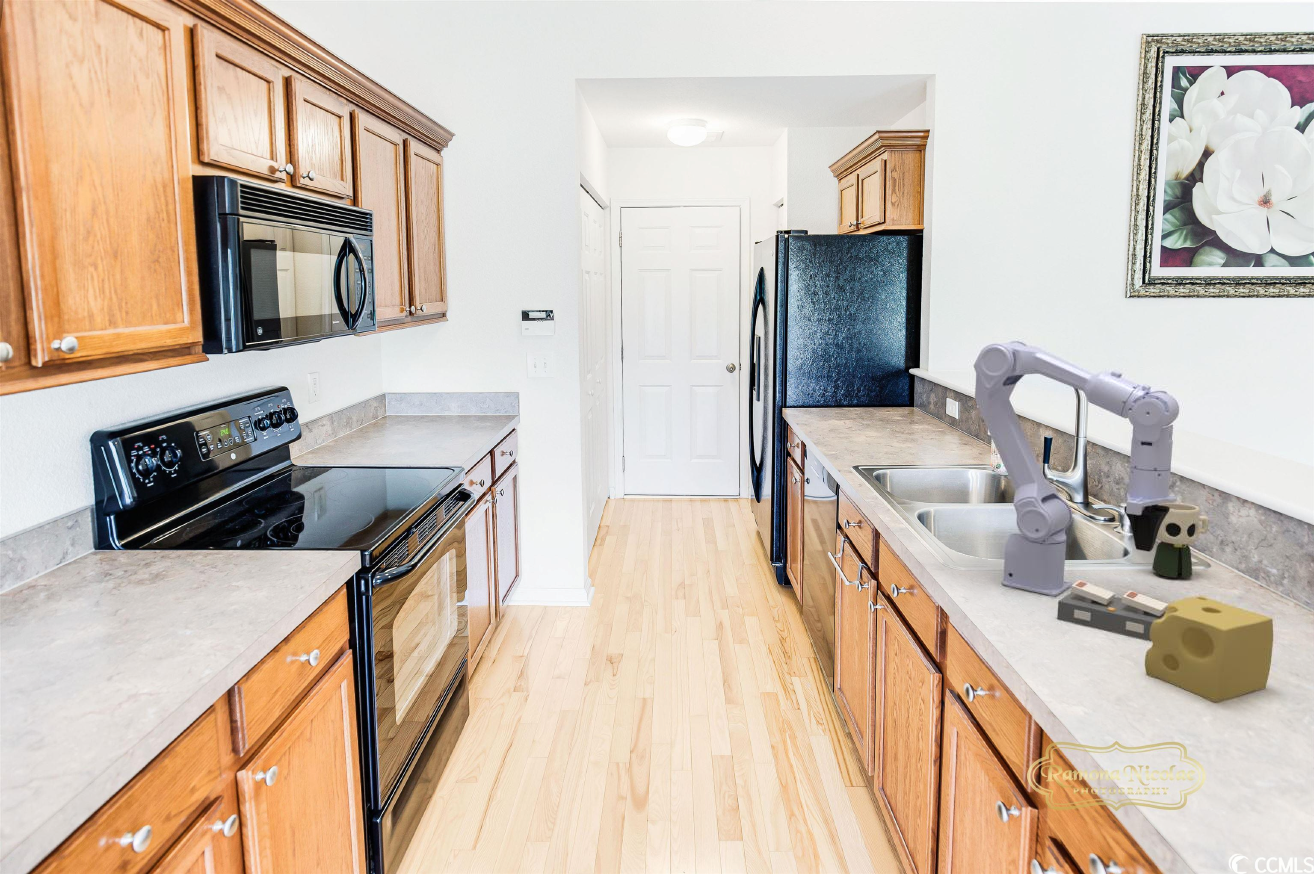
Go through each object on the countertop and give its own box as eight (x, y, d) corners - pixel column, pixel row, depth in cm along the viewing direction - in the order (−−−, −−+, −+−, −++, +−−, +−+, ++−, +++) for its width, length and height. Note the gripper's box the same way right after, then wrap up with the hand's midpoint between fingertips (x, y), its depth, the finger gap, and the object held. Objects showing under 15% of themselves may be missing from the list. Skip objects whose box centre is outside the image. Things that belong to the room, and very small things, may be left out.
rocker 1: (1070, 591, 139) (1071, 584, 139) (1078, 585, 142) (1079, 579, 142) (1106, 604, 136) (1107, 598, 135) (1113, 598, 138) (1115, 592, 138)
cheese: (1143, 674, 119) (1148, 604, 117) (1196, 660, 123) (1202, 592, 121) (1217, 706, 109) (1224, 630, 108) (1273, 689, 113) (1280, 616, 112)
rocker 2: (1120, 601, 134) (1122, 595, 134) (1128, 596, 137) (1130, 589, 136) (1159, 616, 130) (1161, 609, 130) (1166, 609, 133) (1168, 603, 133)
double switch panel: (1056, 619, 139) (1058, 597, 138) (1075, 606, 145) (1076, 584, 144) (1161, 643, 129) (1163, 620, 128) (1177, 628, 134) (1179, 605, 134)
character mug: (1147, 580, 157) (1153, 510, 155) (1132, 568, 164) (1136, 501, 162) (1213, 582, 155) (1219, 511, 153) (1194, 570, 162) (1200, 502, 160)
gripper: (1164, 477, 132) (1158, 564, 134) (1190, 464, 142) (1184, 544, 144) (1114, 472, 137) (1108, 555, 139) (1143, 459, 147) (1137, 537, 149)
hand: (1144, 549), depth 142 cm, fingers closed
